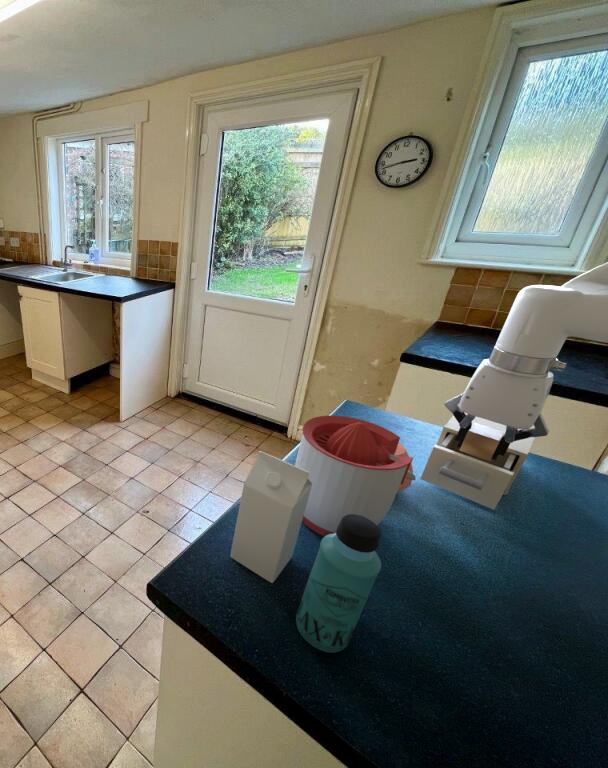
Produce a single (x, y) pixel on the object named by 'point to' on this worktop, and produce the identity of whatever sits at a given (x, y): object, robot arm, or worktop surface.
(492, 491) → the drawer
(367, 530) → the beverage bottle
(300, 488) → the milk carton
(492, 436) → the block
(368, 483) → the citrus juicer
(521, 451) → the cabinet
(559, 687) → the worktop surface
